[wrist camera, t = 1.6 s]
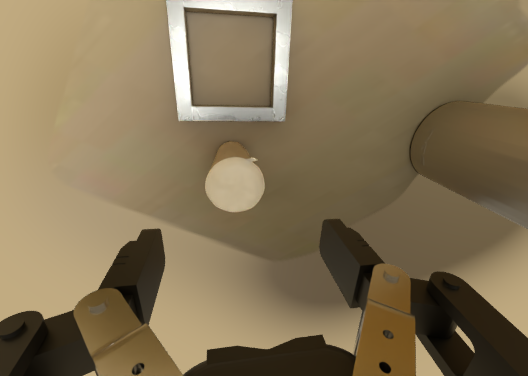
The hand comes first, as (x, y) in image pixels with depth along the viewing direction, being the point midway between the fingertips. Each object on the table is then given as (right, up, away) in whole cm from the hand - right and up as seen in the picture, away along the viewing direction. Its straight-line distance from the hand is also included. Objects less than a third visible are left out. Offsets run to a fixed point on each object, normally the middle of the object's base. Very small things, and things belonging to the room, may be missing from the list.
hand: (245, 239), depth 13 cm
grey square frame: (-2, +14, +11) cm, 18 cm away
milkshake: (-2, +6, +14) cm, 16 cm away
